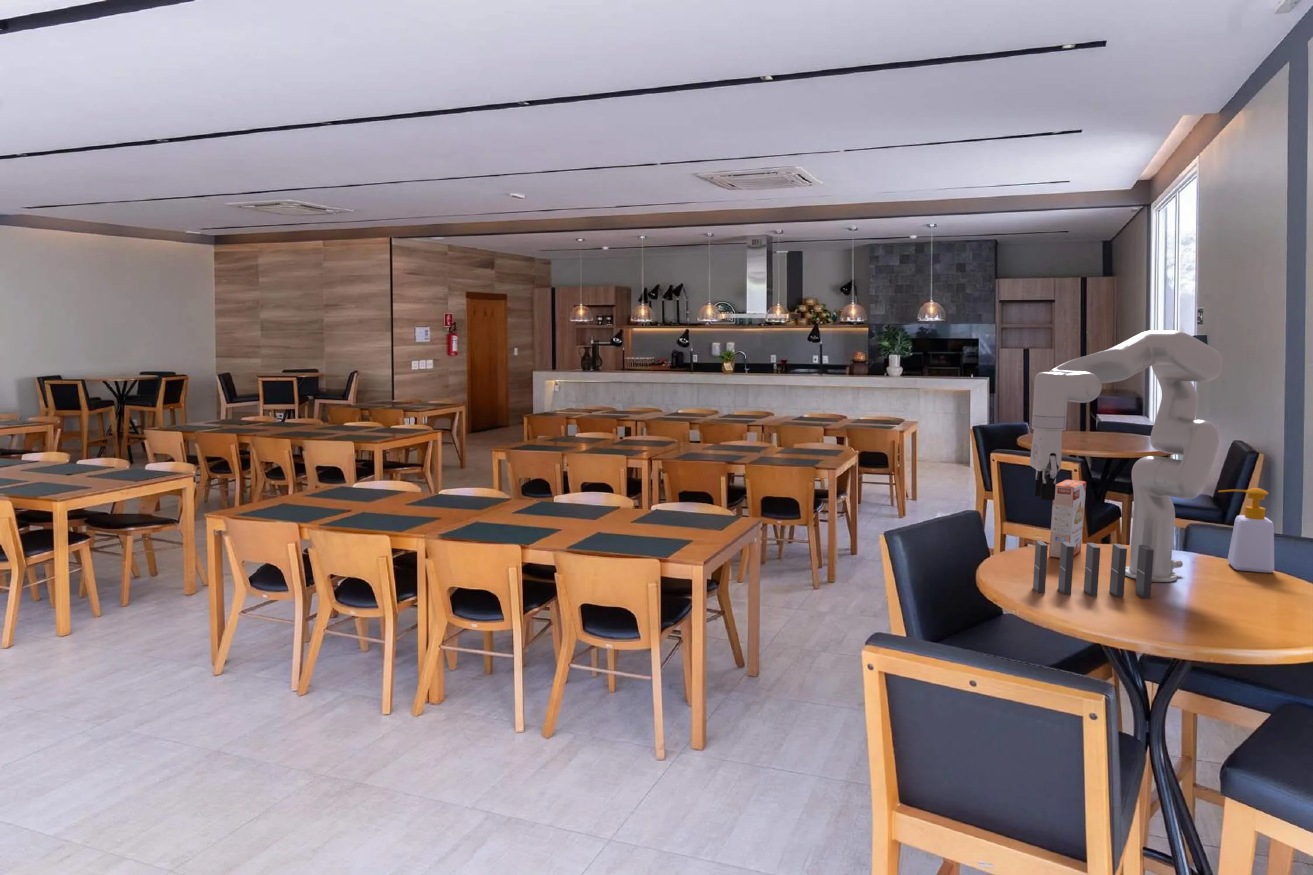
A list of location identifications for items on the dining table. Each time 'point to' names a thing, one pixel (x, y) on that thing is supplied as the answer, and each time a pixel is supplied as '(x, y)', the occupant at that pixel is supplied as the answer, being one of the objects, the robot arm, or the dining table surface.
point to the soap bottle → (1252, 537)
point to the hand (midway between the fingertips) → (1044, 497)
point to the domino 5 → (1144, 571)
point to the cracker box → (1067, 516)
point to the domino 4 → (1118, 570)
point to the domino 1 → (1040, 566)
